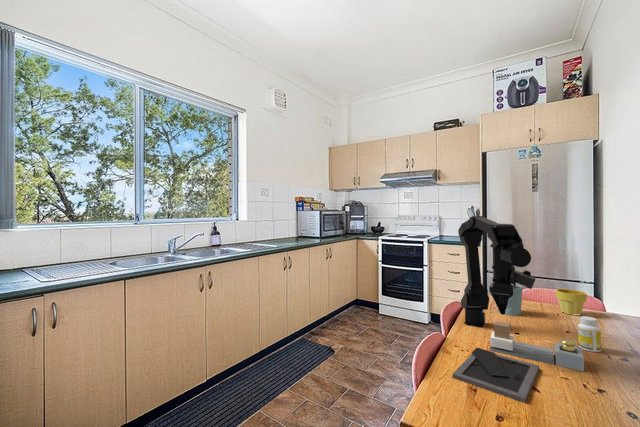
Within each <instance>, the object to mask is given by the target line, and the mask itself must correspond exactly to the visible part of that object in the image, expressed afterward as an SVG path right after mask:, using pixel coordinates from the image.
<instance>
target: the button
mask: <svg viewBox="0 0 640 427" xmlns="http://www.w3.org/2000/svg"><path fill="white" fill-rule="evenodd" d="M559 339H560V341H559V343H560V344H562V351H566V352H571V353H575V346H576V347H577V341H576V340H573V339H571V338H565V337H562V338H559Z"/></svg>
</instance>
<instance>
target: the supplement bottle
mask: <svg viewBox="0 0 640 427" xmlns="http://www.w3.org/2000/svg"><path fill="white" fill-rule="evenodd" d="M579 317H580V322H579V323H578V324H577V336H578V338H577V339H578V347H581V350H585V351H588V352H593V353H601V351H602V336H601V334H602V333H601V331H602V330H601V328H600V326H598V319H596V318H595V317H591V316H583V315H582V316H579Z"/></svg>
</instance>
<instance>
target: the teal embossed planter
mask: <svg viewBox="0 0 640 427" xmlns="http://www.w3.org/2000/svg"><path fill="white" fill-rule="evenodd" d="M511 285H513V286H514V284H511ZM523 290H524V288H523V286H521V285H519V284H516V287H515V289H514V294H513V296H512V297H510V298H509V301H508V305H507V308H506V311H505V314H506V316H512V317H516V316H518V315H519V316H521V315H522V304H523V303H522V302H523V299H522V298H523ZM497 309H498V308H497ZM498 312H499V313H500V311H499V309H498Z"/></svg>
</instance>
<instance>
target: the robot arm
mask: <svg viewBox="0 0 640 427" xmlns="http://www.w3.org/2000/svg"><path fill="white" fill-rule="evenodd" d="M457 233H458V236H459V240H460V243H461V244H462V246H464V249H465V260H466V261H465V262H466V272H467V285H465V288H464V294H463V296H462V298H461V299H460V306H461V307H462V308H463V309H464V322H463V324H464V325H468V326H473V327H478V328H483V327H484V326H485V324H486V312H484V311H488V310H489V305H490V297H489V294H488V292H489V293H490V295H491V297H492V298H493V301H494V302H495V304H496V307H497V309H499V311H500V312H499V311H498V312H499V314H500V315H505V311H506V308H507V305H508V301H509V298H510V297H512V296H513V294H514V289H515V287H516V285H520V286H521V285H522V287H523V286H524V287H526V288H527V289H529V290H532V289H533V287H534V284H535V282H536V277H535V276H532V273H531V271H529V270H524V271H518V270H516V267H517V268H524V267H527V266H528V265H529V264H530V263H531V261H532V255H531V253H530V251H529V250H527V248H524V246H525V245H524V242H523V238H522V237H521V236H520V234H519V232H518V229H517V228H516V226H515V224H512V223H498V222H496V221H494V220H491V219H489V218H486V217H485V216H483V215H473V216H470V217H469V218H468V220H465V221H464V222H462V223H461V224H460V226H459V228H458V231H457ZM485 233H486V234H487V235H486V236H487V238H488V239H489V240H490V241H491V244H490V245H489V246H490V248H492V265H491V269H492V278H491V279H492V280H491V281H492V282H491V283H490V285H489V286H488V288H487V287H485V286H484V285H483V283H482V274H481V263H480V253H479V246H480V244H481V242H482V240H483V235H484V234H485ZM511 284H512V285H511ZM513 285H514V286H513Z"/></svg>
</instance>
